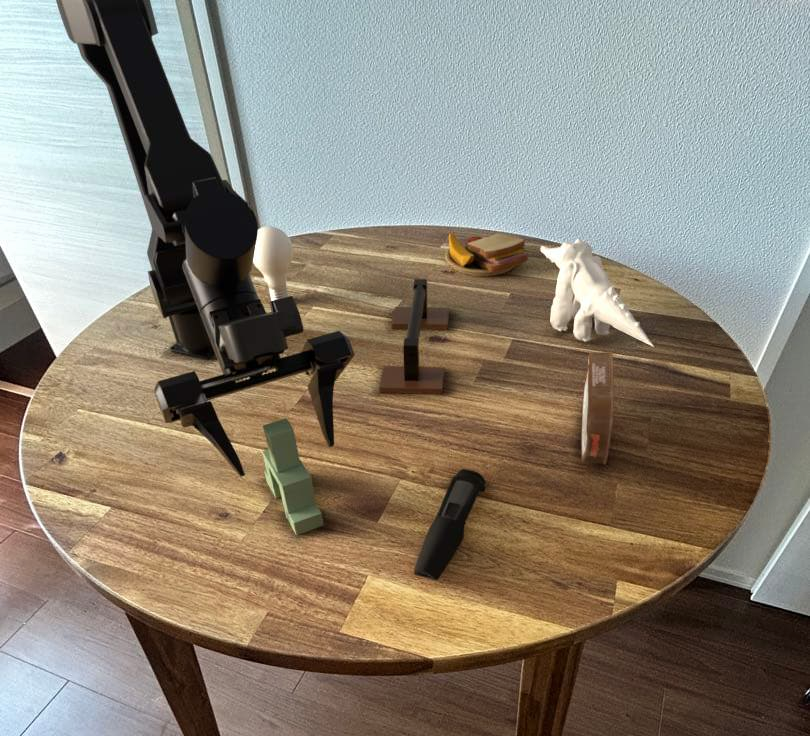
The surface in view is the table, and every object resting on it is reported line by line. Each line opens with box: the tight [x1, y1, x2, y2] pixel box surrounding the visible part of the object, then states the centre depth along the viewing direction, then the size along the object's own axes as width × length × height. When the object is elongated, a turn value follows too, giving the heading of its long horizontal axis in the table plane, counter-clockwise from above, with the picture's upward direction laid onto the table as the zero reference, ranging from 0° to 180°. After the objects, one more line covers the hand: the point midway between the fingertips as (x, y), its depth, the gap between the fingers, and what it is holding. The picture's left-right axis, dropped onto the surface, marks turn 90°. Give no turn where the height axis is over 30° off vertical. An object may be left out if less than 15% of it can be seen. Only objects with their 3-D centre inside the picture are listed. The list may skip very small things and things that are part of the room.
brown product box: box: [580, 351, 615, 465], centre depth 72 cm, size 15×3×8 cm, turn 168°
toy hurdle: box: [378, 278, 450, 395], centre depth 87 cm, size 8×21×6 cm, turn 175°
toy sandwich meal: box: [444, 232, 529, 277], centre depth 105 cm, size 12×14×5 cm
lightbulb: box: [252, 225, 294, 301], centre depth 96 cm, size 6×6×11 cm
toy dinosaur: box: [540, 238, 655, 348], centre depth 86 cm, size 7×24×11 cm, turn 28°
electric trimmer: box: [413, 468, 487, 581], centre depth 64 cm, size 4×16×3 cm, turn 159°
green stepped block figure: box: [261, 418, 324, 536], centre depth 65 cm, size 9×3×10 cm, turn 27°
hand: (288, 460), depth 63 cm, fingers open, 9 cm apart
